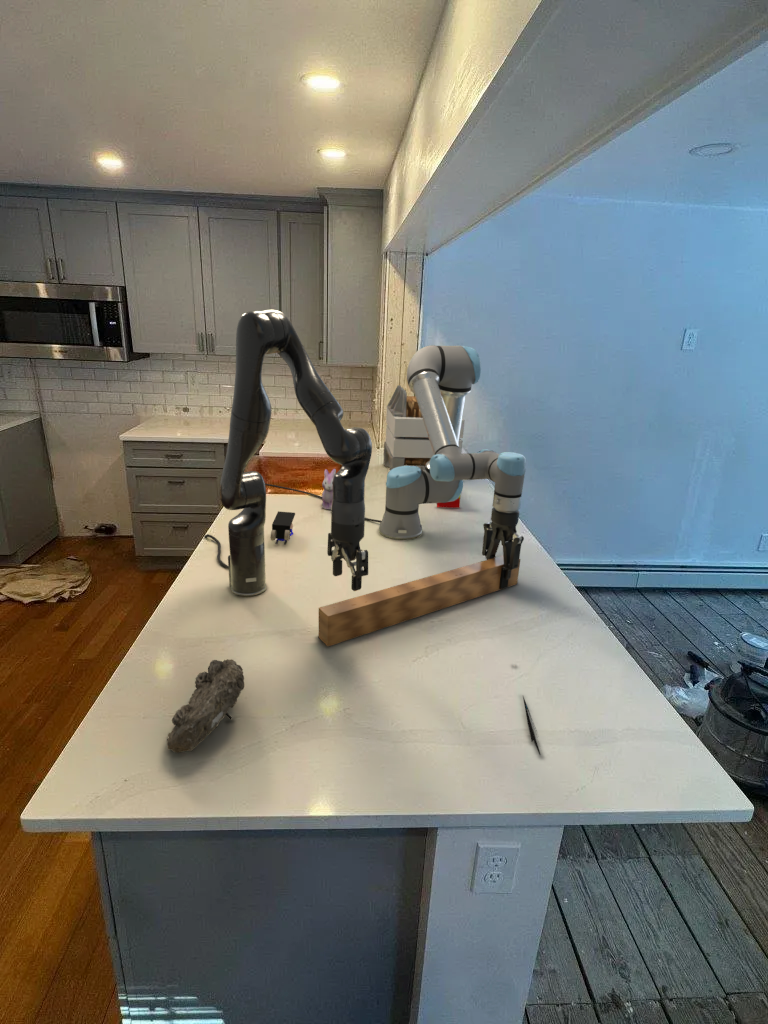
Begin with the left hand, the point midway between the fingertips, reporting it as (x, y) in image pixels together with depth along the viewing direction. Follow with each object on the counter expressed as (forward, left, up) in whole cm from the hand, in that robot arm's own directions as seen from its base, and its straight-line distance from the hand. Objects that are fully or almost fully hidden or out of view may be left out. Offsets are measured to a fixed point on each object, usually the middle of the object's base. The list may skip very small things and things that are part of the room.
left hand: (346, 582), depth 132 cm
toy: (-39, +108, -14) cm, 116 cm away
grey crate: (-68, +132, -14) cm, 149 cm away
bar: (+8, +24, -14) cm, 29 cm away
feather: (+45, +4, -14) cm, 47 cm away
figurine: (-65, +67, -14) cm, 95 cm away
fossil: (0, -38, -14) cm, 41 cm away
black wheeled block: (-55, +31, -14) cm, 64 cm away
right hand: (+16, +49, -14) cm, 53 cm away
